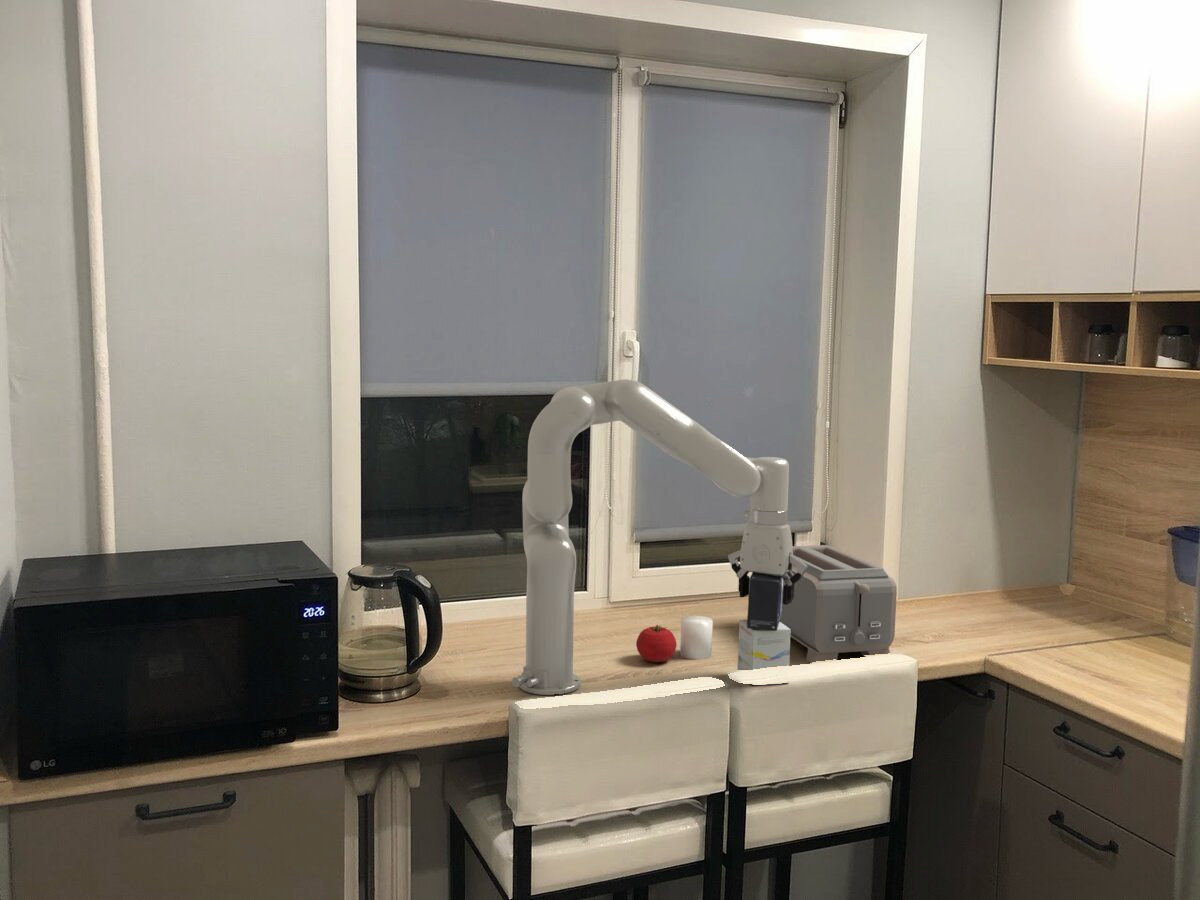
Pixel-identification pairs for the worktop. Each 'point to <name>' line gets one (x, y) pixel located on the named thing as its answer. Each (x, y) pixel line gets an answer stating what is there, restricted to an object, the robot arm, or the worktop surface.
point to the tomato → (656, 644)
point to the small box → (764, 601)
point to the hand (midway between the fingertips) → (765, 599)
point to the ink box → (763, 647)
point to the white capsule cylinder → (696, 637)
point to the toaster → (840, 605)
